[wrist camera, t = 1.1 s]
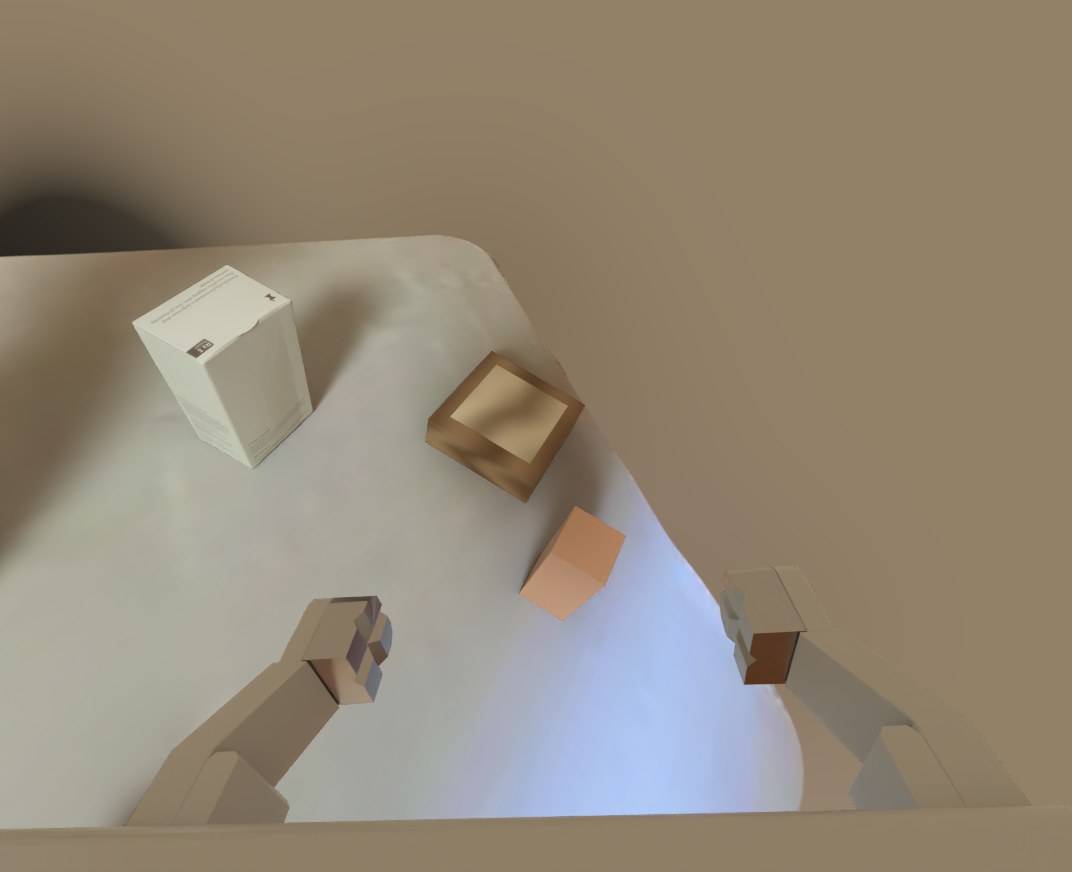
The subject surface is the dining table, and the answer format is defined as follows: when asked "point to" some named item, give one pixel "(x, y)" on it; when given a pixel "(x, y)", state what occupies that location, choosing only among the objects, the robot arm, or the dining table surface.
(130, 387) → the dining table surface
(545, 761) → the dining table surface
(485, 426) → the plinth
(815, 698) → the robot arm
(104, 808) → the dining table surface
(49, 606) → the dining table surface
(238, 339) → the skincare box
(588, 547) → the terracotta block
